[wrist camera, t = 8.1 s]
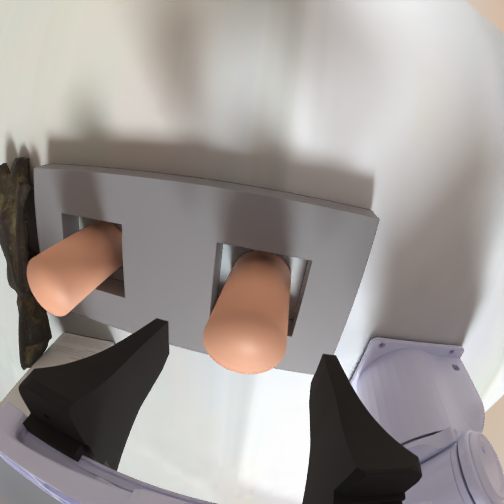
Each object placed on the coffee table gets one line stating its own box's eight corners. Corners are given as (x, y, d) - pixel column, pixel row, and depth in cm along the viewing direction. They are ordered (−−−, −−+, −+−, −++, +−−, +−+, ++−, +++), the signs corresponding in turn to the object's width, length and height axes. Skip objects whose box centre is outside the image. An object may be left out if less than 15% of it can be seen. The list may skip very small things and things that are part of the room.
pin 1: (126, 224, 20) (65, 264, 14) (128, 274, 22) (76, 324, 15) (85, 217, 20) (22, 250, 14) (88, 263, 22) (33, 305, 15)
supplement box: (62, 330, 26) (-9, 407, 14) (115, 340, 25) (42, 440, 13) (85, 380, 29) (32, 455, 17) (137, 393, 28) (86, 485, 16)
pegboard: (371, 210, 17) (379, 219, 15) (323, 358, 22) (324, 376, 20) (50, 163, 19) (33, 168, 17) (62, 292, 24) (49, 302, 22)
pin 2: (295, 255, 19) (294, 318, 13) (285, 307, 21) (278, 379, 14) (234, 245, 19) (204, 302, 13) (229, 297, 21) (201, 365, 15)
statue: (25, 164, 22) (47, 348, 26) (-19, 165, 17) (12, 367, 21) (56, 153, 20) (81, 365, 24) (5, 151, 15) (42, 389, 19)
